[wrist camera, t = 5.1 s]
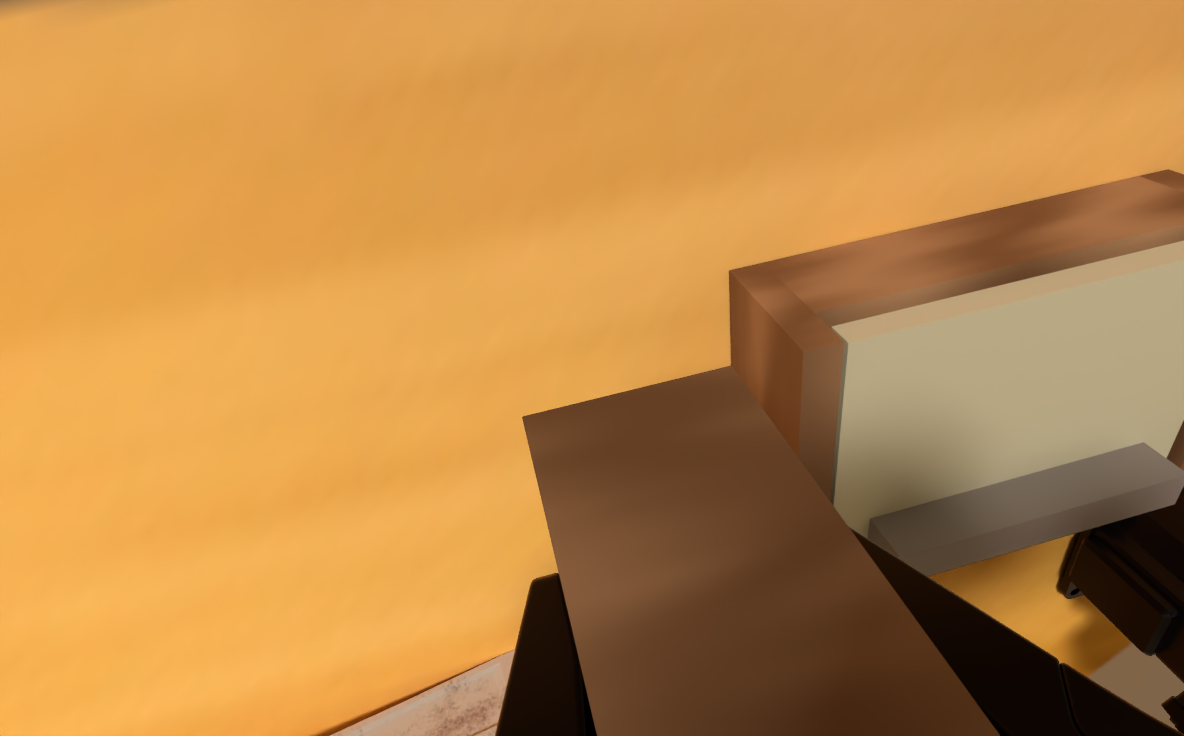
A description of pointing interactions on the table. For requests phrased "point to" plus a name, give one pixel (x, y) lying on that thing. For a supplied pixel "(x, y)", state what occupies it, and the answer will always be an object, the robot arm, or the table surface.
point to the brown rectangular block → (725, 578)
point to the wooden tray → (920, 290)
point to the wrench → (446, 706)
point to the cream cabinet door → (1013, 411)
